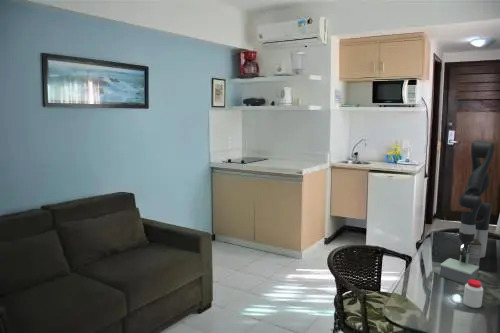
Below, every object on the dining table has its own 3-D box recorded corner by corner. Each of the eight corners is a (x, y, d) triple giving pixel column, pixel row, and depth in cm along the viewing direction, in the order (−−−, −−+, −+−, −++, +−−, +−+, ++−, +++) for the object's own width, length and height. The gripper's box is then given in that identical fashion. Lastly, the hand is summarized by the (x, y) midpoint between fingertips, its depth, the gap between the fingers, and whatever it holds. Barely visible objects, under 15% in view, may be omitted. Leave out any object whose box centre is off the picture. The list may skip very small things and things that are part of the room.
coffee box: (461, 263, 244) (464, 237, 241) (473, 265, 243) (476, 238, 240) (466, 270, 235) (469, 243, 232) (478, 271, 234) (482, 244, 231)
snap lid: (449, 260, 235) (450, 249, 234) (478, 269, 224) (480, 257, 223) (440, 267, 227) (441, 255, 225) (470, 276, 216) (472, 264, 215)
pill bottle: (459, 299, 202) (462, 278, 200) (474, 299, 203) (477, 278, 201) (469, 308, 195) (471, 285, 193) (484, 307, 195) (487, 285, 193)
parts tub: (448, 269, 236) (449, 259, 235) (477, 278, 225) (478, 267, 224) (439, 276, 228) (440, 265, 226) (469, 285, 217) (470, 274, 216)
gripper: (464, 226, 233) (461, 256, 236) (455, 232, 224) (451, 263, 227) (478, 230, 228) (475, 260, 231) (470, 236, 219) (466, 267, 222)
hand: (463, 261), depth 229 cm, fingers closed on snap lid, 1 cm apart
